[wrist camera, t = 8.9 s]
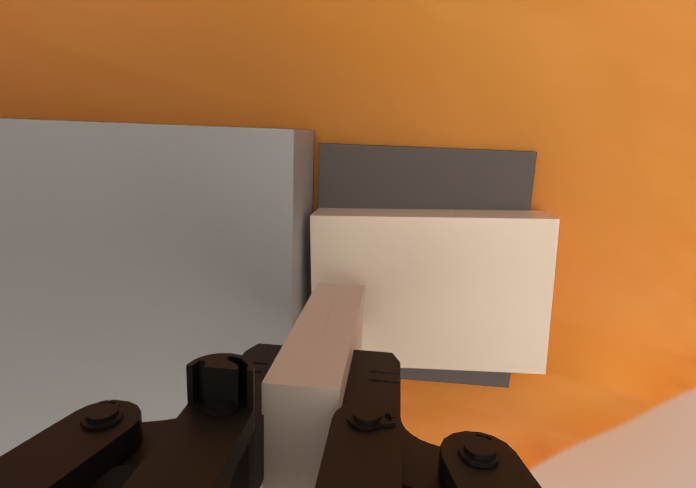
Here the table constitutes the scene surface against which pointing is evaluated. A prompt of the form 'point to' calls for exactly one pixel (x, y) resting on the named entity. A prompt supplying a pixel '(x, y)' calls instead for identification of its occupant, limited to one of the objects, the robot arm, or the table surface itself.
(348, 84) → the table surface
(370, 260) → the rectangular block
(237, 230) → the grey flat block
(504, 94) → the table surface
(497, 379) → the mat
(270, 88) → the table surface
